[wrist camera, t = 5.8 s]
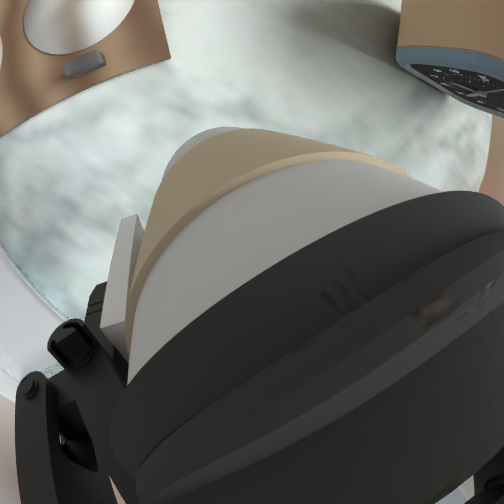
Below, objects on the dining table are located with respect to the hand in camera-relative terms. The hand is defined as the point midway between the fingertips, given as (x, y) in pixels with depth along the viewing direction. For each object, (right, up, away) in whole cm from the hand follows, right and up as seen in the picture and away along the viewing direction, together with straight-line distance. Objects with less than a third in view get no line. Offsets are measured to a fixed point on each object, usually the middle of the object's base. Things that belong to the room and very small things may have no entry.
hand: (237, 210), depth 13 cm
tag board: (-23, +19, +3) cm, 30 cm away
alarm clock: (+26, +27, +16) cm, 40 cm away
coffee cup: (-1, +1, +2) cm, 3 cm away
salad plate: (-35, -10, +18) cm, 41 cm away
